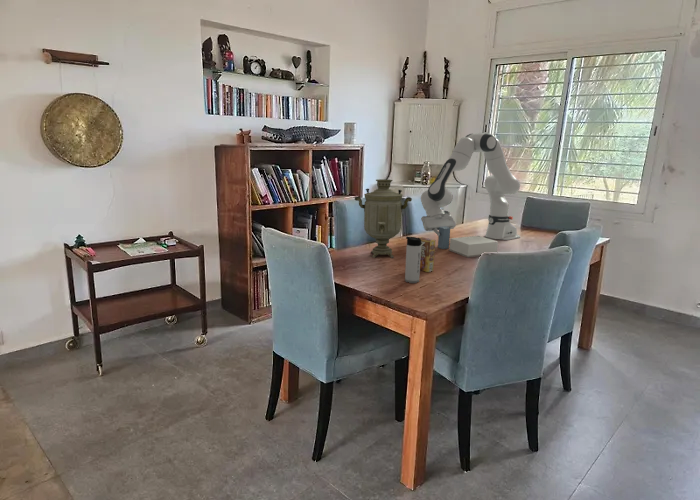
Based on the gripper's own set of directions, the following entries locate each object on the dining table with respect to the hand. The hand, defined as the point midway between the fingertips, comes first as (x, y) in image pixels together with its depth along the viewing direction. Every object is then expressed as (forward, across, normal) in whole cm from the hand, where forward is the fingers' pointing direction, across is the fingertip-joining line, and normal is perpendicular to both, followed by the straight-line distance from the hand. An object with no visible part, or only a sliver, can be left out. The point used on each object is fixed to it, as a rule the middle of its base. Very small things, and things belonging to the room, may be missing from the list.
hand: (444, 235), depth 263 cm
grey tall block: (+5, 0, +5) cm, 7 cm away
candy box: (+29, -35, -18) cm, 49 cm away
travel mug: (+38, -50, -27) cm, 68 cm away
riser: (+15, +10, -5) cm, 19 cm away
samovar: (+8, -43, +3) cm, 44 cm away
